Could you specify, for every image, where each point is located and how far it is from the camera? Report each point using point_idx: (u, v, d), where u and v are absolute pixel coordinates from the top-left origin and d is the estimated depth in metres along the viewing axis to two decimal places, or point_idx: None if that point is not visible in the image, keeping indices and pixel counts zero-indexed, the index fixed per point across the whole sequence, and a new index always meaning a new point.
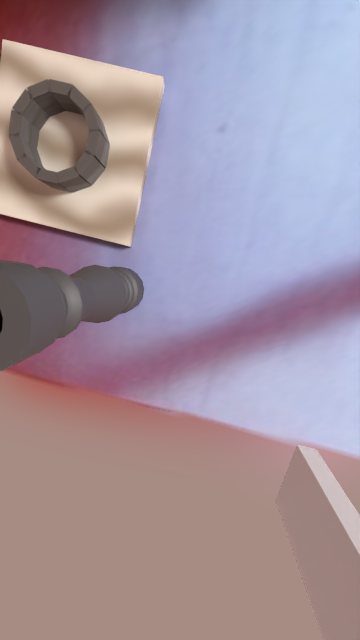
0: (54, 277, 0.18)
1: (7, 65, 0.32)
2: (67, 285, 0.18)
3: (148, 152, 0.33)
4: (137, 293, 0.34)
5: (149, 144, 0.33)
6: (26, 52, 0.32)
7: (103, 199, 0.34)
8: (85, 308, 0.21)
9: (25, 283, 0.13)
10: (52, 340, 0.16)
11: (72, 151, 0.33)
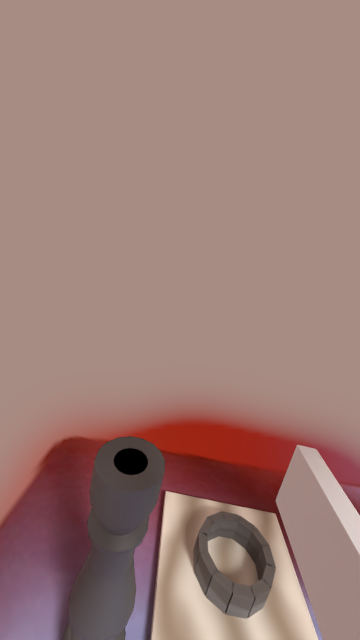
0: (142, 524, 0.22)
1: (262, 515, 0.46)
2: (136, 536, 0.21)
3: None
4: None
5: None
6: (276, 530, 0.44)
7: (195, 613, 0.31)
8: (107, 562, 0.21)
9: (152, 491, 0.20)
10: (102, 513, 0.19)
11: (227, 572, 0.36)
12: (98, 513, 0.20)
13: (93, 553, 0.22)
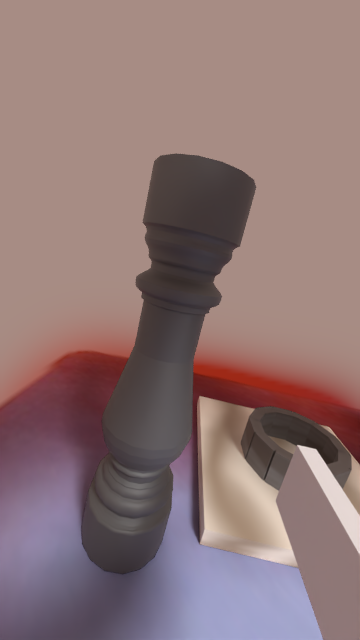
0: (214, 287, 0.15)
1: None
2: (210, 289, 0.14)
3: None
4: (127, 532, 0.16)
5: None
6: None
7: (255, 493, 0.24)
8: (165, 328, 0.14)
9: (245, 191, 0.13)
10: (168, 215, 0.13)
11: None
12: (162, 218, 0.13)
13: (143, 326, 0.15)
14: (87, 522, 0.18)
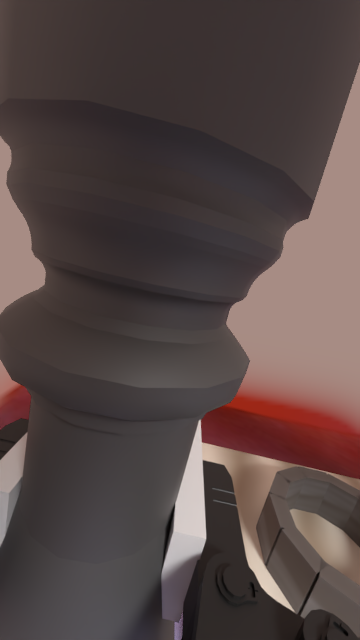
0: (231, 337, 0.05)
1: (351, 483, 0.29)
2: (219, 354, 0.04)
3: None
4: None
5: None
6: None
7: None
8: (79, 475, 0.05)
9: None
10: (31, 51, 0.03)
11: None
12: (10, 74, 0.03)
13: (27, 450, 0.05)
14: None
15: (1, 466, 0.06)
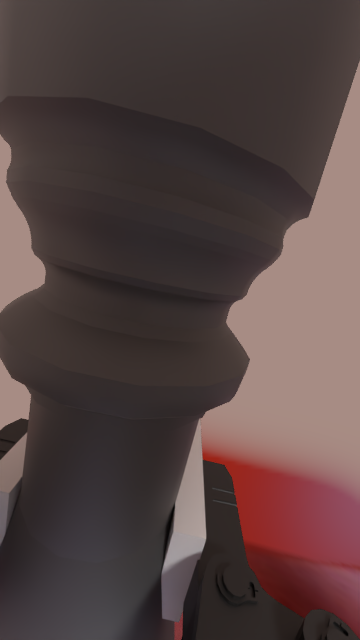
0: (231, 335, 0.05)
1: None
2: (219, 353, 0.04)
3: None
4: None
5: None
6: None
7: None
8: (79, 474, 0.05)
9: None
10: (31, 50, 0.03)
11: None
12: (10, 71, 0.03)
13: (27, 449, 0.05)
14: None
15: (1, 466, 0.06)
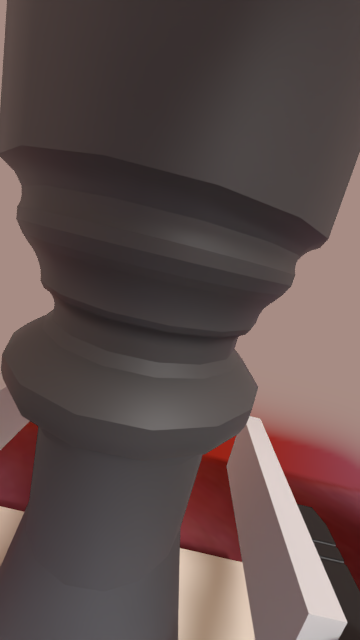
0: (239, 363, 0.05)
1: (210, 568, 0.19)
2: (229, 387, 0.04)
3: None
4: None
5: None
6: (239, 613, 0.17)
7: None
8: (87, 506, 0.05)
9: None
10: (45, 101, 0.03)
11: None
12: (23, 121, 0.03)
13: (34, 476, 0.05)
14: None
15: None
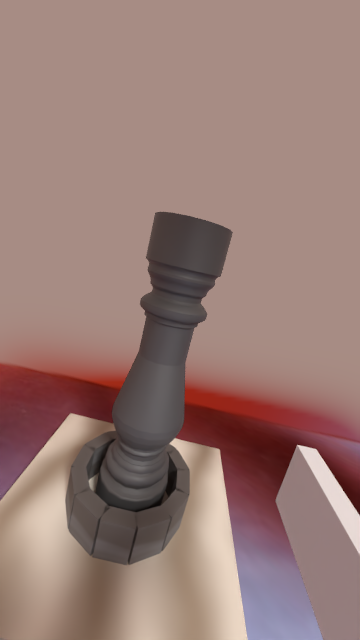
0: (201, 306, 0.20)
1: (200, 449, 0.33)
2: (197, 309, 0.19)
3: None
4: (132, 499, 0.21)
5: None
6: (215, 465, 0.31)
7: (39, 551, 0.19)
8: (163, 339, 0.19)
9: (222, 238, 0.17)
10: (166, 257, 0.17)
11: None
12: (161, 258, 0.17)
13: (146, 337, 0.20)
14: (99, 493, 0.22)
15: None
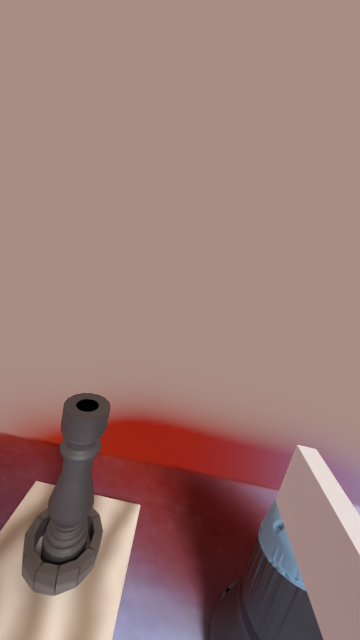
0: (95, 448, 0.34)
1: (125, 506, 0.48)
2: (90, 453, 0.33)
3: None
4: (59, 556, 0.36)
5: None
6: (132, 520, 0.46)
7: (3, 589, 0.34)
8: (71, 469, 0.34)
9: (98, 421, 0.32)
10: (66, 433, 0.32)
11: None
12: (64, 434, 0.32)
13: (63, 466, 0.34)
14: (42, 551, 0.37)
15: None
